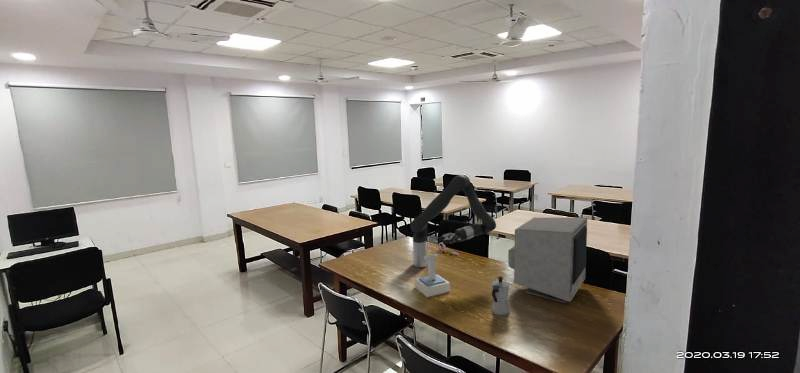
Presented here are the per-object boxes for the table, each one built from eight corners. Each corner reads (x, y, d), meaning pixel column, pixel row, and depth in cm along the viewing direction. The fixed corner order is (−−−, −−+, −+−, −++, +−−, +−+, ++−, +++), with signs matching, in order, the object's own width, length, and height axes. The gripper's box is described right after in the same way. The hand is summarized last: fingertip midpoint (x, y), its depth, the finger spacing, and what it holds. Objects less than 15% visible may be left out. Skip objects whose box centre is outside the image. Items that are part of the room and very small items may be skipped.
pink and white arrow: (458, 259, 269) (437, 249, 283) (459, 259, 270) (439, 249, 284) (459, 251, 267) (438, 241, 281) (460, 251, 268) (439, 241, 282)
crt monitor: (573, 312, 181) (575, 233, 175) (500, 294, 204) (500, 223, 198) (587, 287, 209) (590, 217, 203) (522, 273, 231) (522, 211, 225)
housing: (414, 287, 218) (414, 278, 217) (437, 282, 224) (436, 273, 223) (427, 297, 204) (426, 288, 203) (450, 291, 210) (450, 282, 209)
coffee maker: (497, 304, 192) (497, 271, 190) (514, 308, 187) (514, 274, 184) (484, 315, 181) (484, 280, 179) (501, 320, 176) (501, 284, 173)
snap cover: (419, 281, 216) (418, 254, 214) (435, 277, 220) (434, 250, 218) (428, 288, 206) (427, 259, 204) (445, 284, 210) (444, 256, 208)
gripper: (458, 225, 226) (433, 233, 221) (468, 229, 212) (443, 237, 208) (460, 237, 227) (436, 245, 222) (471, 242, 213) (446, 250, 209)
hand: (440, 241), depth 215 cm, fingers open, 8 cm apart
